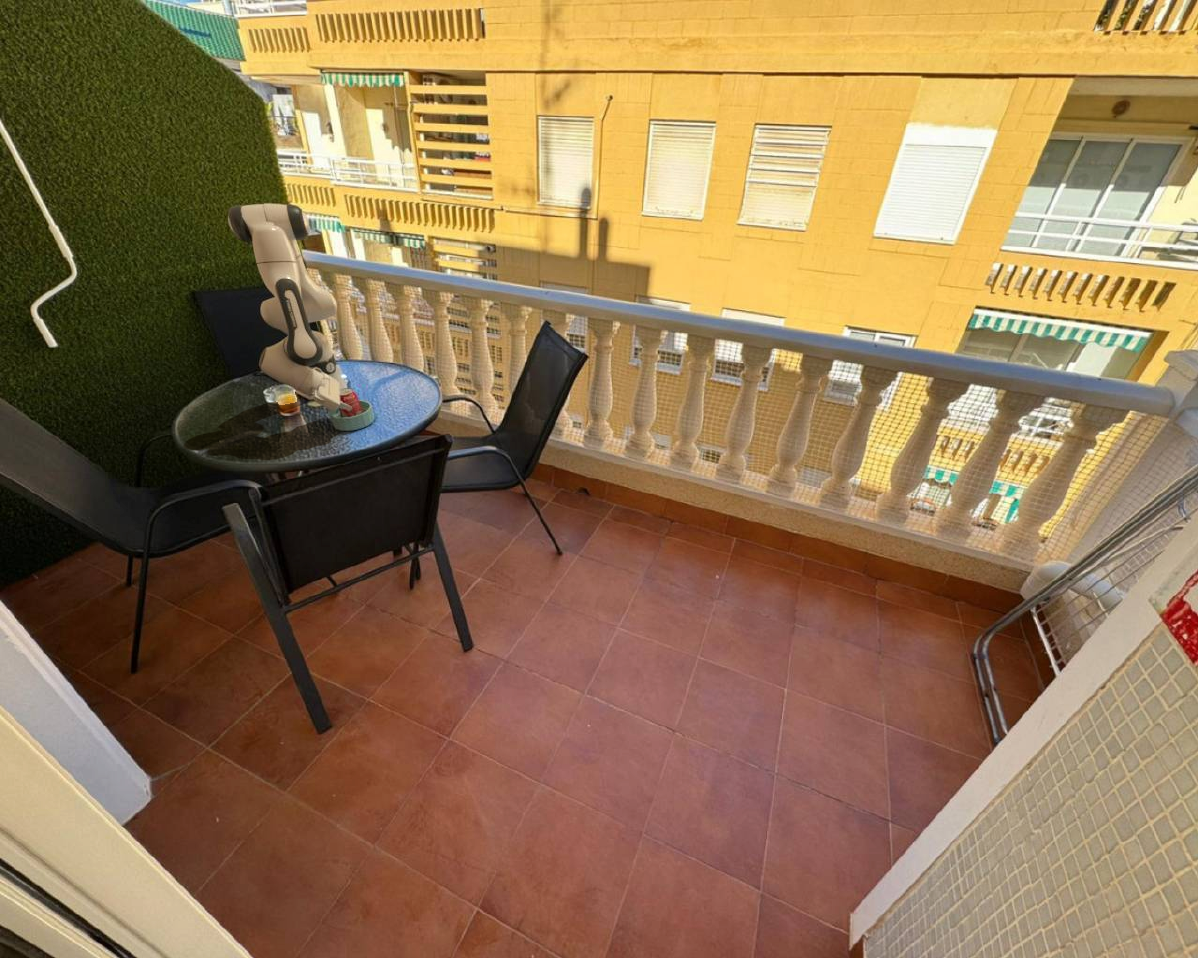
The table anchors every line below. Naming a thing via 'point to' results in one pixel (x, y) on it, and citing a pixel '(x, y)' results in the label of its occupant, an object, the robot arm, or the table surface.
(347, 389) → the soda can
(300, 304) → the robot arm
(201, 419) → the table surface
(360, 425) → the bowl
